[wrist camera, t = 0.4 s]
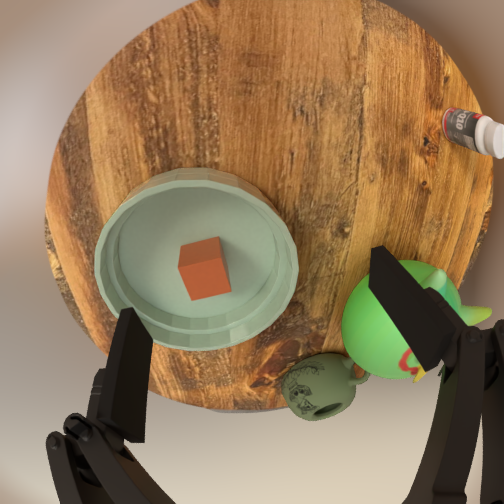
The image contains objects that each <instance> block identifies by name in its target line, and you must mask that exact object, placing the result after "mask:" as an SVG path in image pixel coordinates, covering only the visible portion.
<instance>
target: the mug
mask: <svg viewBox="0 0 504 504" xmlns="http://www.w3.org/2000/svg"><path fill="white" fill-rule="evenodd" d="M354 364H355V362H354V361H353V359H352V358H351V357H349V358H347V357H344V356H343V355H340V354H334V353H325V354H317V355H314V356H311V357H309V358H306V359H304V360H302V361H300V362H299V363H297V364H295V365H294V366H293V367H292V368H291V369H290V370H289V371H288V372H287V373H286V374H285V375H284V377H283V380H282V383H281V389H282V394H283V396H284V398H285V400H286V402H287V404H288V406H289V408H290V409H291V410H292V411H293V413H294V414H295V415H297V416H298V417H300V418H302V419H305V420H308V421H317V420H321V419H326V418H329V417H331V416H334V415H336V414H338V413H340V412H342V411H343V410H345V409H346V408H347V407H348V406H349V405H350V404H351V402H352V401H353V399H354V397H355V393H356V385H357V384H362V383H364V382H365V381H367V380H368V378H369V376H370V373H369V372H367V371H365V373H364V376H363V377H362V378H356V375H355V371H354V367H353V365H354Z"/></svg>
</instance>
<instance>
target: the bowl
mask: <svg viewBox="0 0 504 504" xmlns="http://www.w3.org/2000/svg"><path fill="white" fill-rule="evenodd" d="M217 236H219V238H220V242H221V245H222V249H223V252H224V255H225V259H226V262H227V266H228V270H229V277H230V284H231V291H232V292H229V293H224V294H220V295H216V296H212V297H207V298H203V299H199V300H194V301H191V299H190V296H189V294H188V292H187V289H186V287H185V285H184V282H183V280H182V278H181V275H180V273H179V270H178V261H179V254H180V247H181V246H182V245H186V244H190V243H194V242H198V241H202V240H206V239H209V238H213V237H217ZM298 272H299V265H298V256H297V248H296V245H295V243H294V241H293V239H292V236H291V234H290V232H289V230H288V228H287V226H286V224H285V222H284V221H283V219H282V217H281V216H280V214H279V212H278V211H277V209H276V208H275V206H274V205H273V204H272V203H271V202H270V201H269V200H268V198H267V197H266V196H265V195H264V194H263V193H262V192H261V191H260V190H259V189H258V188H257V187H255V186H253V185H252V184H250V183H248V182H247V181H245V180H243V179H242V178H240V177H238V176H237V175H234V174H231V173H227V172H223V171H219V170H216V169H212V168H178V169H174V170H171V171H168V172H164V173H161V174H158V175H155V176H153V177H151V178H150V179H148V180H146V181H145V182H143V183H142V184H140V185H139V186H137V187H136V188H134V189H133V190H132V191H131V192H130V193H129V194H128V195H127V196H126V198H125V199H124V200H123V201H122V203H121V204H120V205H119V206H118V207H117V209H116V210H115V211H114V213H113V214H112V216H111V217H110V218H109V220H108V221H107V223H106V224H105V225H104V227H103V229H102V232H101V234H100V237H99V240H98V243H97V246H96V249H95V277H96V280H97V284H98V287H99V291H100V294H101V296H102V298H103V299H104V301H105V302H106V304H107V306H108V307H109V309H110V310H111V312H112V313H113V315H115V316H116V317H117V318H119V315H120V311H121V309H125V308H129V307H133V308H134V310H135V311H136V313H137V315H138V316H139V318H140V320H141V321H142V323H143V324H144V326H145V328H146V329H147V331H148V332H149V334H150V335H151V337H152V338H153V342H154V343H156V344H159V345H162V346H165V347H168V348H174V349H180V350H186V351H211V350H216V349H221V348H226V347H230V346H234V345H236V344H239V343H241V342H244V341H246V340H248V339H251V338H253V337H254V336H256V335H257V334H259V333H260V332H262V331H263V330H265V329H266V328H268V327H269V326H270V325H271V324H272V323H273V322H274V321H275V320H276V319H277V318H278V317H279V316H280V315H281V314H282V312H283V311H284V310H285V309H286V307H287V305H288V303H289V301H290V299H291V297H292V296H293V294H294V292H295V287H296V282H297V277H298Z"/></svg>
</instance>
